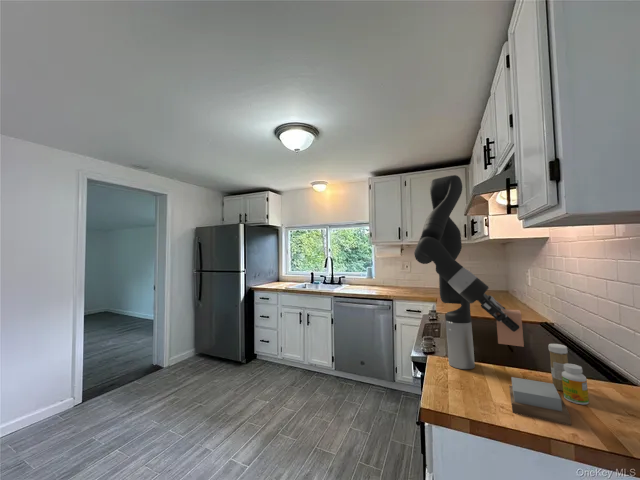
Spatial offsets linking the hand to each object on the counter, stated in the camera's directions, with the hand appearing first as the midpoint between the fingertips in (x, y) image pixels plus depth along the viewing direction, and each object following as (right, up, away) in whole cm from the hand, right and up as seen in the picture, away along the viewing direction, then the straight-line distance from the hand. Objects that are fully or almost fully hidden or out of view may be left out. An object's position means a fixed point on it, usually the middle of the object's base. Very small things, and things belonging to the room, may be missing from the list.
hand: (516, 326), depth 79 cm
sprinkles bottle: (+20, -22, +7) cm, 30 cm away
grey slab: (+3, -19, -3) cm, 20 cm away
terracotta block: (-1, -5, +1) cm, 5 cm away
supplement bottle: (+18, -22, 0) cm, 28 cm away
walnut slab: (+4, -22, -3) cm, 23 cm away
